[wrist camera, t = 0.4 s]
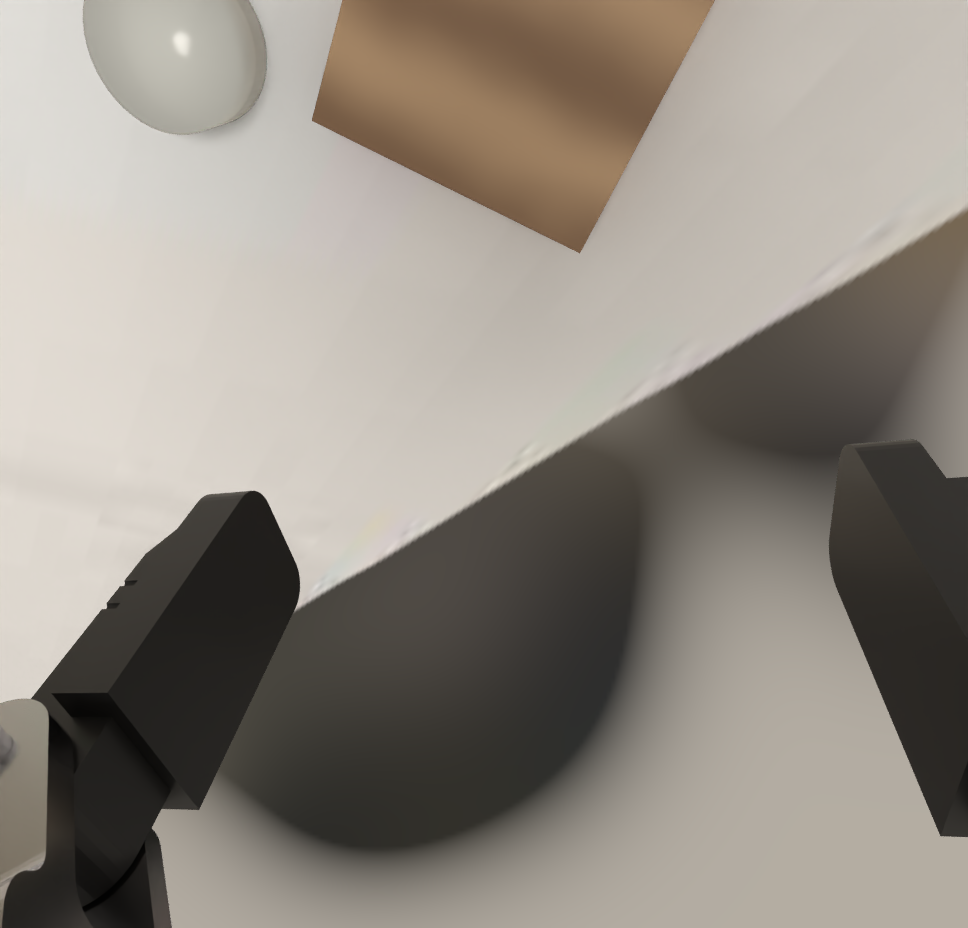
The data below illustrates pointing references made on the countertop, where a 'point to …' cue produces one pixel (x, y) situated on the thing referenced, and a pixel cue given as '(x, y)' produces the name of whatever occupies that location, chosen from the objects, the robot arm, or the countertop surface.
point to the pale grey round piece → (178, 59)
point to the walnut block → (508, 95)
